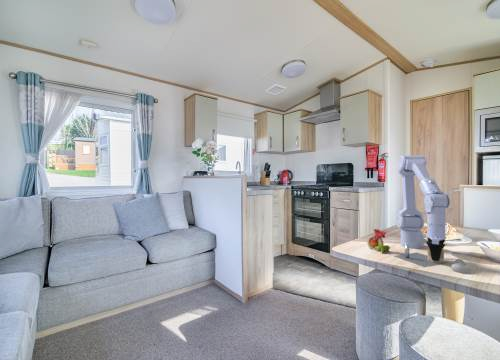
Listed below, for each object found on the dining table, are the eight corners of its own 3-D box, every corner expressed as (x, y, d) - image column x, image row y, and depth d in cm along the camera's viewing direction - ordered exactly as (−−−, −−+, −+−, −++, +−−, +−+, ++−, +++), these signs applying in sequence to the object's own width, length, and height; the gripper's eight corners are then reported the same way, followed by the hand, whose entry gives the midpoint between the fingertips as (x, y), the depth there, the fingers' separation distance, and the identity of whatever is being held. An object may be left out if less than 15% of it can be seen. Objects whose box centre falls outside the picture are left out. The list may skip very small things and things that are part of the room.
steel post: (406, 256, 100) (406, 242, 99) (410, 258, 98) (410, 243, 98) (403, 257, 99) (403, 243, 99) (407, 258, 98) (407, 244, 97)
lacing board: (416, 254, 105) (416, 252, 105) (449, 265, 93) (450, 262, 93) (392, 258, 101) (392, 255, 101) (424, 269, 88) (424, 267, 88)
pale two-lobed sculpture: (466, 281, 82) (447, 272, 86) (468, 273, 88) (451, 266, 91) (471, 270, 81) (452, 261, 84) (473, 263, 86) (456, 256, 90)
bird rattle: (368, 257, 108) (388, 254, 102) (359, 232, 112) (377, 228, 105) (375, 254, 112) (394, 251, 105) (366, 231, 116) (384, 226, 109)
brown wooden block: (433, 258, 98) (433, 247, 98) (446, 262, 93) (447, 250, 93) (424, 259, 96) (424, 248, 96) (437, 264, 92) (438, 252, 91)
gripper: (424, 220, 103) (424, 251, 103) (422, 225, 91) (421, 261, 92) (445, 222, 98) (445, 255, 98) (446, 228, 87) (445, 265, 87)
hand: (435, 258), depth 95 cm, fingers closed on brown wooden block, 5 cm apart
